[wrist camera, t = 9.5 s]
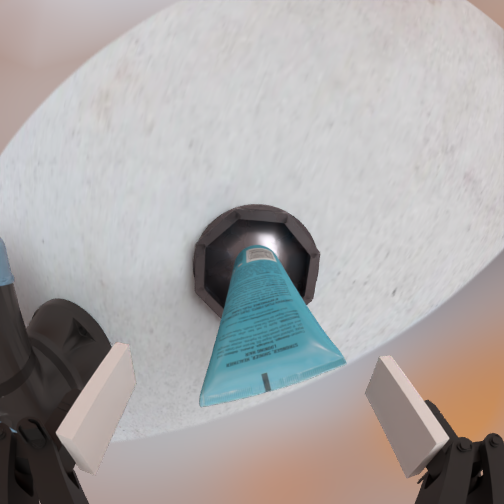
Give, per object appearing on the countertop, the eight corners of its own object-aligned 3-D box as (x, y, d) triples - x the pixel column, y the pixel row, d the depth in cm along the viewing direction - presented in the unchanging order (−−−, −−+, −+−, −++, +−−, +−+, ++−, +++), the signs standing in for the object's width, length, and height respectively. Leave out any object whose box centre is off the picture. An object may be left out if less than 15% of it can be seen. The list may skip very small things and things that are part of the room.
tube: (237, 297, 31) (224, 434, 12) (217, 261, 30) (173, 376, 11) (297, 270, 30) (356, 387, 12) (279, 231, 29) (327, 315, 11)
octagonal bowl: (194, 316, 33) (190, 325, 30) (197, 199, 29) (193, 201, 27) (307, 324, 33) (310, 333, 31) (324, 210, 29) (330, 213, 27)
